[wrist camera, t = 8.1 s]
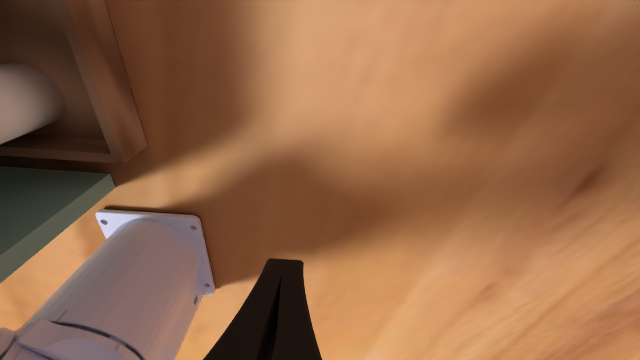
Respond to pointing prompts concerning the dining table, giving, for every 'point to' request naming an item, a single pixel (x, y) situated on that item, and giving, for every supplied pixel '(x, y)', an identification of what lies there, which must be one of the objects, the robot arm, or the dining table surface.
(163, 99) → the dining table surface
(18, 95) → the cup
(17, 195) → the box
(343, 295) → the dining table surface
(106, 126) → the tray
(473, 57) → the dining table surface
